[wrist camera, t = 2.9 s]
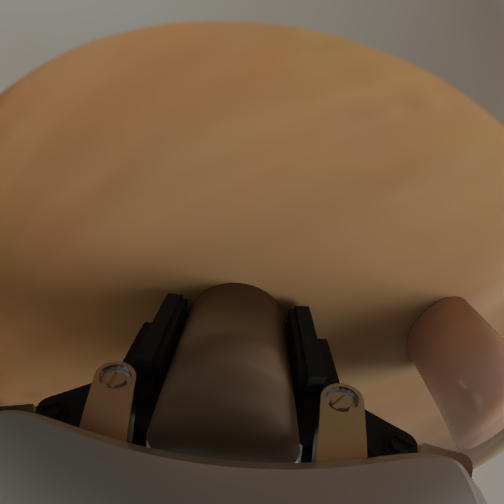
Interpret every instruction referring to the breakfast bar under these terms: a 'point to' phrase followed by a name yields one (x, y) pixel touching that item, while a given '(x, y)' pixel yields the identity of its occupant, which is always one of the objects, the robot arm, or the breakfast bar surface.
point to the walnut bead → (229, 382)
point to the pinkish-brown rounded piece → (461, 369)
